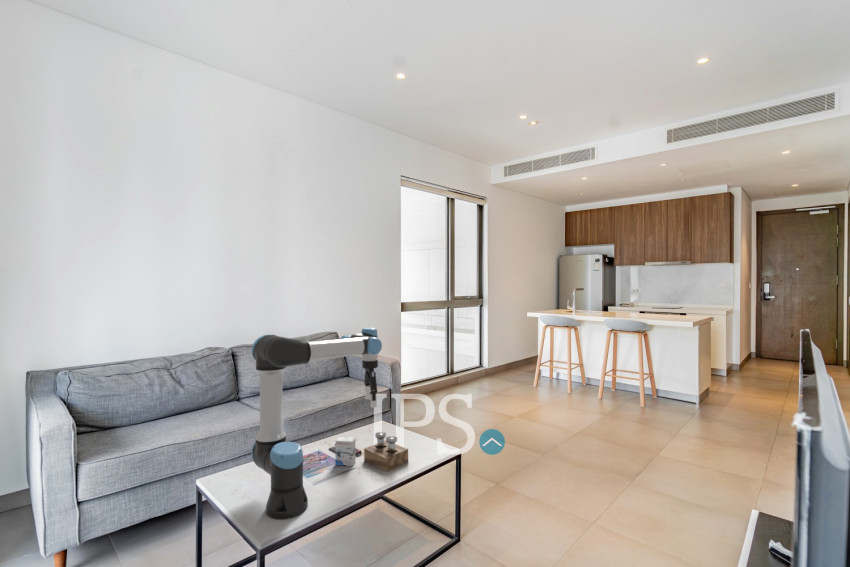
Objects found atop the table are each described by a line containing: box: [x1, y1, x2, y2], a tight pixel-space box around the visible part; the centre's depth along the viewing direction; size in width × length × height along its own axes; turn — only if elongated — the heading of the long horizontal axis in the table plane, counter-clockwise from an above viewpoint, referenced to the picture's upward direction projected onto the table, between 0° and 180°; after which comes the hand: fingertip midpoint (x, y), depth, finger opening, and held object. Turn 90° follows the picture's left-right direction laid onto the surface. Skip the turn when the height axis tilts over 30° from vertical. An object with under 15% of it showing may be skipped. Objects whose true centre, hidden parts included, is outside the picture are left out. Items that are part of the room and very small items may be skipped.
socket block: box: [363, 440, 409, 472], centre depth 200 cm, size 14×16×6 cm
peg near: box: [385, 435, 398, 454], centre depth 197 cm, size 5×5×7 cm
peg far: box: [374, 431, 387, 449], centre depth 203 cm, size 5×5×7 cm
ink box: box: [334, 436, 356, 467], centre depth 197 cm, size 9×5×12 cm, turn 84°
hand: (370, 403), depth 204 cm, fingers open, 13 cm apart
